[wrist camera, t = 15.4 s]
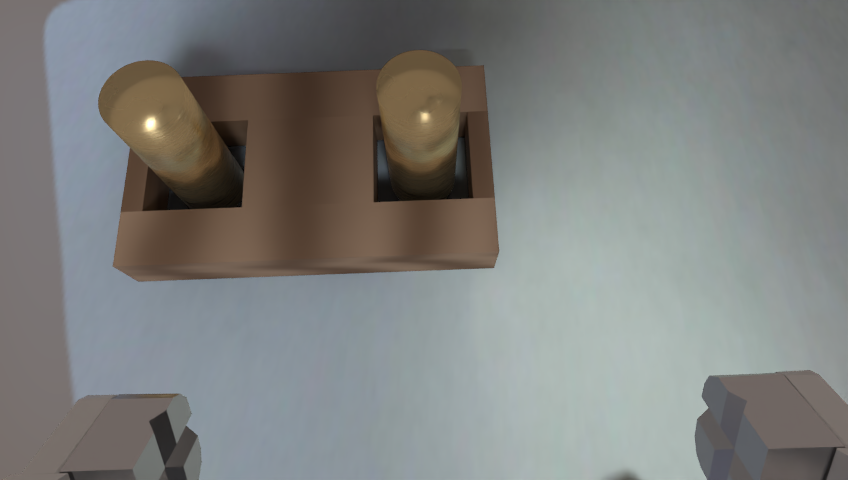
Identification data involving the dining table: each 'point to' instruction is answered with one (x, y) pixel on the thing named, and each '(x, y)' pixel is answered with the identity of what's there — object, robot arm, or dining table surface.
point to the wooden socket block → (309, 189)
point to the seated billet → (171, 134)
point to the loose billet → (420, 123)
